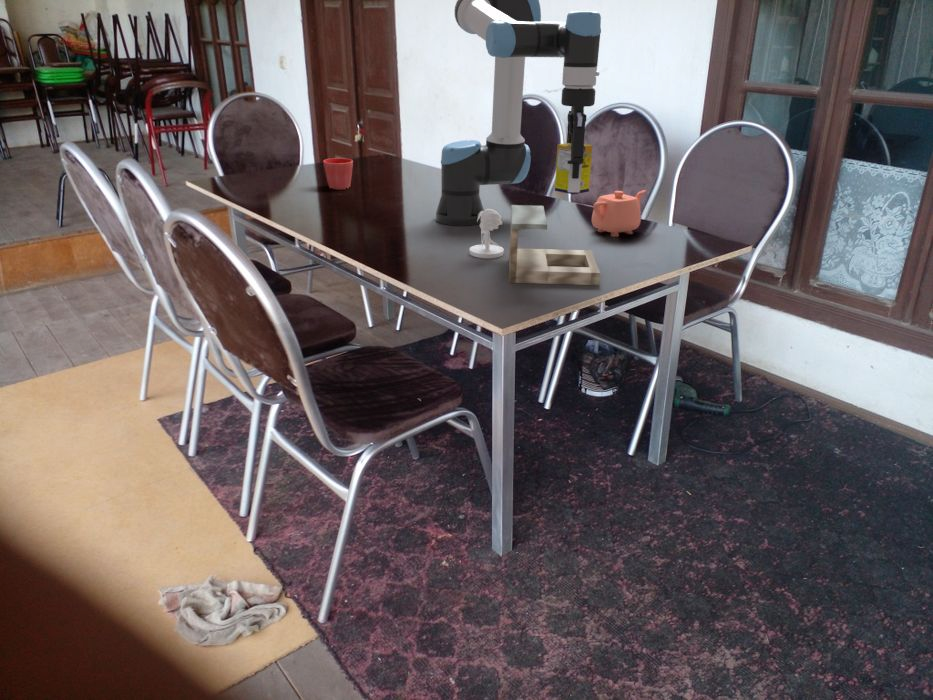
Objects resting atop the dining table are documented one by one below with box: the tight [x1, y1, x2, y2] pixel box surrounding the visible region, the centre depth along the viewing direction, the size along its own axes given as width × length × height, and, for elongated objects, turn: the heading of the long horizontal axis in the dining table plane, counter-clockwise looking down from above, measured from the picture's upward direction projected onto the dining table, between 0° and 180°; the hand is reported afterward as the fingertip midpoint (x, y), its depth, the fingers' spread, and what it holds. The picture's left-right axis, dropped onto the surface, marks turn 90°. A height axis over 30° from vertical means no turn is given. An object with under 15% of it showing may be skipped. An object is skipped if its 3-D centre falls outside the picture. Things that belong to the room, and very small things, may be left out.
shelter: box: [508, 204, 601, 286], centre depth 171 cm, size 21×18×14 cm
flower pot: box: [322, 157, 354, 190], centre depth 257 cm, size 11×11×10 cm
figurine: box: [468, 208, 505, 259], centre depth 184 cm, size 9×9×12 cm
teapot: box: [591, 189, 647, 238], centre depth 206 cm, size 20×12×12 cm, turn 124°
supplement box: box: [554, 142, 593, 196], centre depth 166 cm, size 6×6×11 cm
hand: (571, 188), depth 168 cm, fingers closed on supplement box, 8 cm apart
